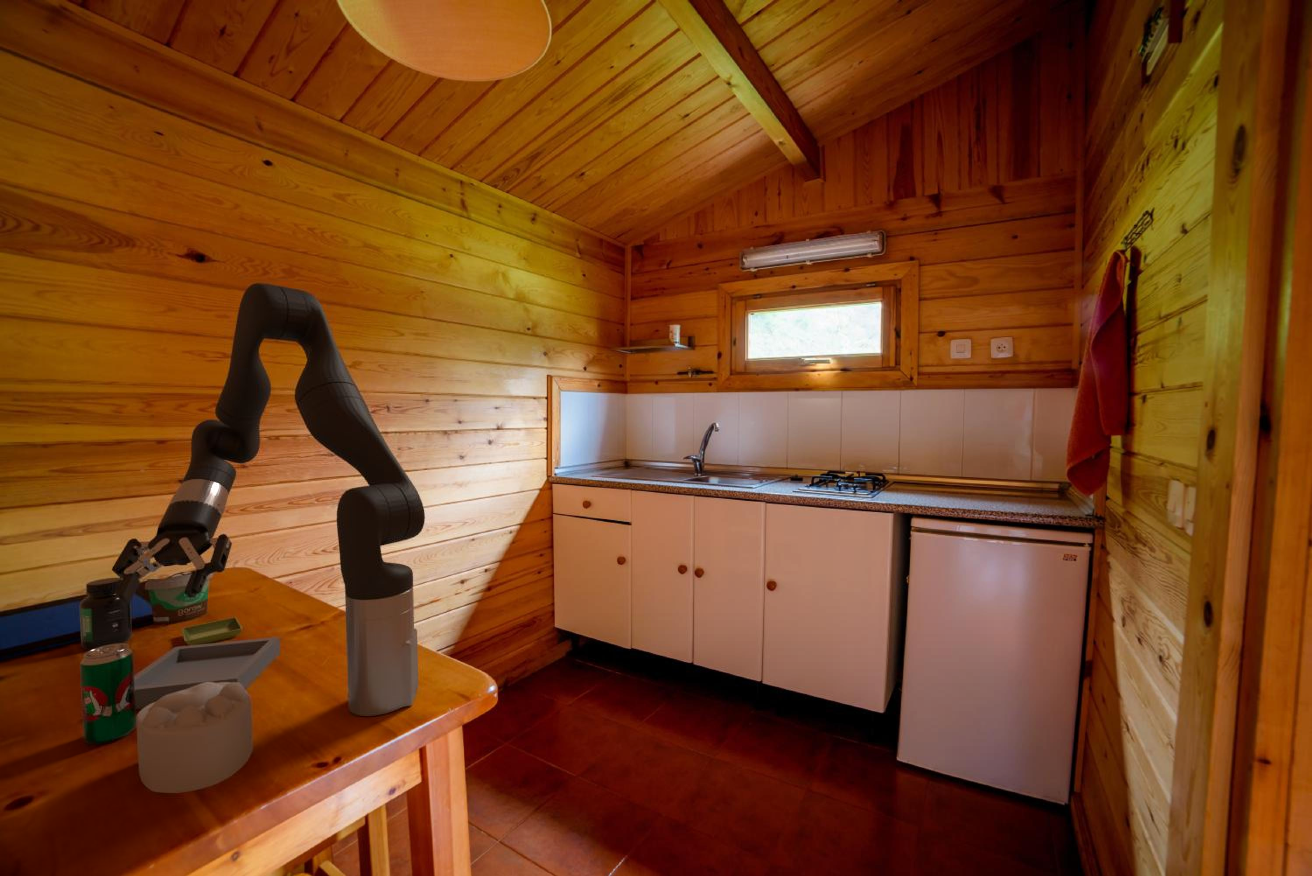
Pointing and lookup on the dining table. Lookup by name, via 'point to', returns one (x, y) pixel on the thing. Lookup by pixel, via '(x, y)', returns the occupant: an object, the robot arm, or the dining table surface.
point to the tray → (204, 667)
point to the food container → (176, 599)
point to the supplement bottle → (104, 615)
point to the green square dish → (211, 631)
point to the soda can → (108, 693)
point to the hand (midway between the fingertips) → (157, 597)
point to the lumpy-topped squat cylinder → (194, 737)
